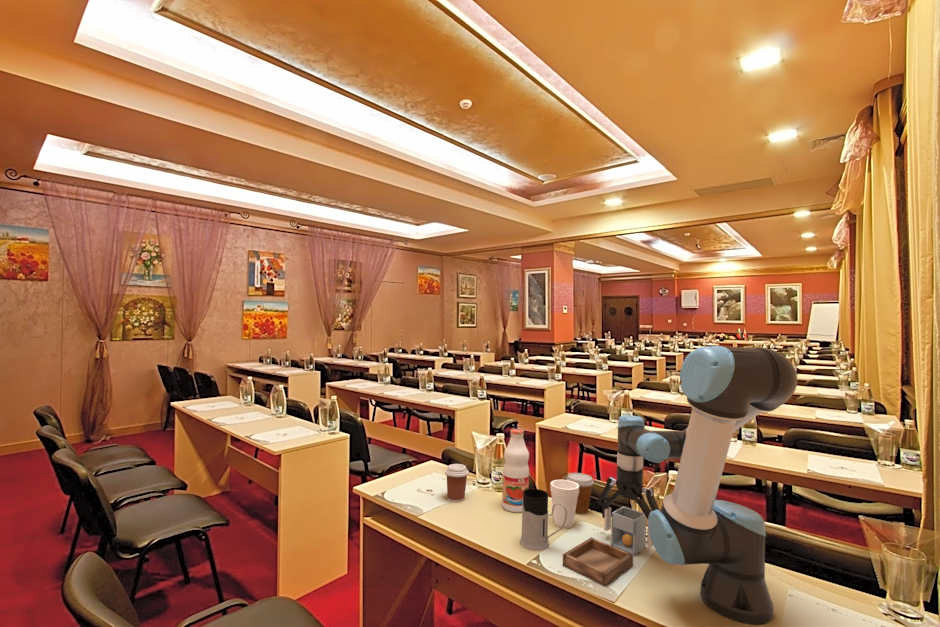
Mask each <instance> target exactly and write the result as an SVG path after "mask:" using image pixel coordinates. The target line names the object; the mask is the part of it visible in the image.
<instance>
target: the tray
mask: <svg viewBox="0 0 940 627" xmlns="http://www.w3.org/2000/svg"><path fill="white" fill-rule="evenodd" d="M633 557H634V555H633V554H631V553H628V552H626V551H623V550H621V549H618V548H616V547H613V546H611V544H608V543H606V542H603V541H601V540H599V539H596V538H594V537H589V538H588V539H586V540H584V541H583V542H581V543H579V544H578V545H576V546H574V547H572V548H571V549H569V550H567V551H566V552H564V553H562V566H563V567H565V568H568V570H569V569H570V570H571V571H574V572H576V573H577V574H580V575H582V576H584V577H586V578H588V579H590V580H592V581H595V582H596V583H598V584H600V585H602V586H604V587H607V586H608V585H610V584H611V583H612V582H613V581H615V580H616V579H617V578H619V577H620V576H621V575H623V574H624V573H625V572H626V571H627V570H628V569H629V568H631V567H633V565H634V564H633V563H634V562H633V561H634V558H633Z"/></svg>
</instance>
